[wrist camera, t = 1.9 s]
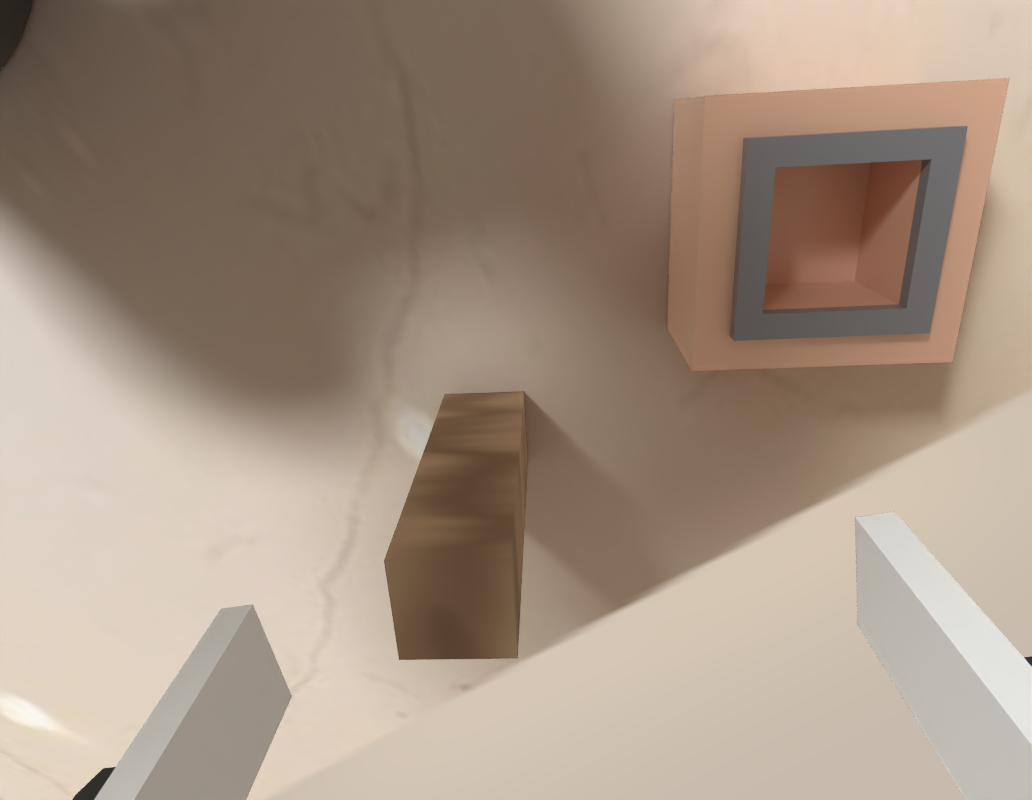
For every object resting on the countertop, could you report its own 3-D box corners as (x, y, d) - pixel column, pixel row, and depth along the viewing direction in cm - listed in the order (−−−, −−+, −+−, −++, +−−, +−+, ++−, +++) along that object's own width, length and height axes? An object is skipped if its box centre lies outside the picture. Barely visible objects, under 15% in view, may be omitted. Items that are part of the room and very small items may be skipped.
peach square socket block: (666, 328, 33) (694, 376, 27) (674, 100, 29) (708, 95, 23) (882, 319, 32) (961, 367, 26) (918, 85, 28) (1021, 76, 22)
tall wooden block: (451, 464, 36) (399, 659, 23) (444, 394, 34) (384, 560, 21) (527, 462, 36) (517, 658, 23) (523, 391, 34) (510, 557, 21)
